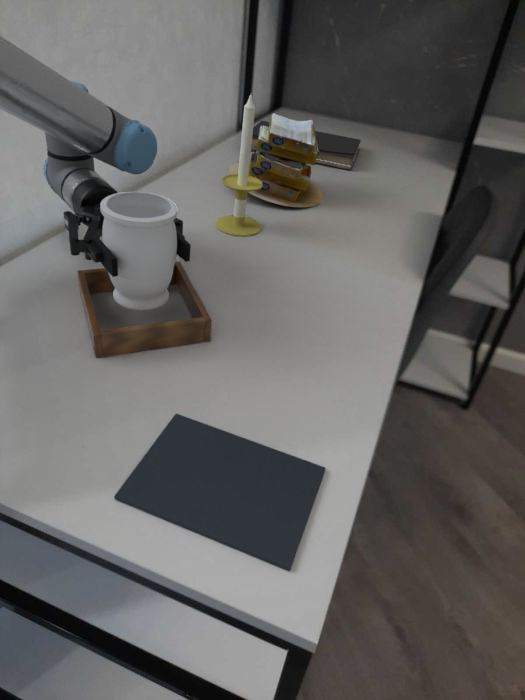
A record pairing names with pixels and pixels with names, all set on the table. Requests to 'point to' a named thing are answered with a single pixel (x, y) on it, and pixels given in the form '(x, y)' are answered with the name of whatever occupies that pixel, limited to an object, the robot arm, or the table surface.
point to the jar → (140, 246)
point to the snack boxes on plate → (285, 162)
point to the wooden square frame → (150, 333)
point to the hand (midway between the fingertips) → (152, 260)
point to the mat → (226, 489)
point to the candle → (242, 183)
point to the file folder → (326, 147)
